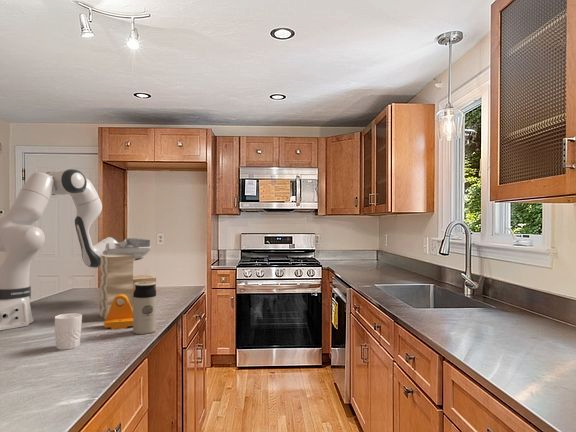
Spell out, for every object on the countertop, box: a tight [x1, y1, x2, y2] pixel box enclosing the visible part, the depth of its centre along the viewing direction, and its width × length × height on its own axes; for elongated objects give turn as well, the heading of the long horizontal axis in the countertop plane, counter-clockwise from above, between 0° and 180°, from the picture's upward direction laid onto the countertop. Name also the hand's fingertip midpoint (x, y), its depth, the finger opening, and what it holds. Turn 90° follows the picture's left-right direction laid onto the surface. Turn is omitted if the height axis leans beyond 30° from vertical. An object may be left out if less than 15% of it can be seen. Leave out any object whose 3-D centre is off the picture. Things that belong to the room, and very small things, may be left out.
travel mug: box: [132, 282, 157, 335], centre depth 152 cm, size 8×8×18 cm
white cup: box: [54, 312, 83, 351], centre depth 133 cm, size 8×8×10 cm
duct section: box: [125, 237, 151, 247], centre depth 185 cm, size 20×4×3 cm, turn 39°
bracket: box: [103, 294, 133, 330], centre depth 159 cm, size 11×7×12 cm, turn 108°
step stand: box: [99, 254, 157, 320], centre depth 179 cm, size 12×20×26 cm, turn 129°
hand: (132, 240), depth 190 cm, fingers closed on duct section, 4 cm apart
